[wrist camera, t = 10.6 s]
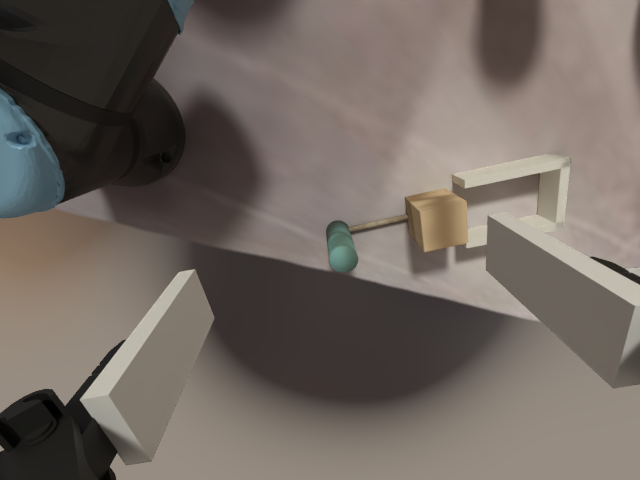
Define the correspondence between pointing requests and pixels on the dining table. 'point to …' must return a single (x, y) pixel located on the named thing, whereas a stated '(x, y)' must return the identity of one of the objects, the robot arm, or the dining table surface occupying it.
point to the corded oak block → (424, 226)
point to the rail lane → (549, 197)
